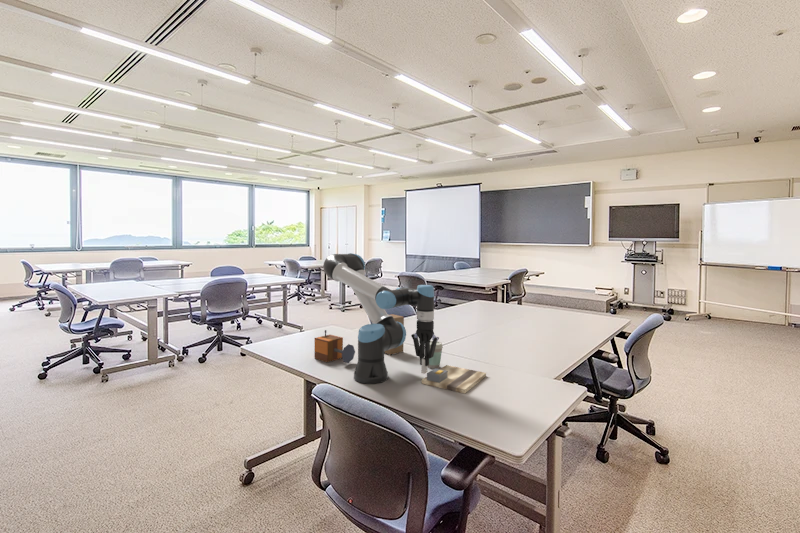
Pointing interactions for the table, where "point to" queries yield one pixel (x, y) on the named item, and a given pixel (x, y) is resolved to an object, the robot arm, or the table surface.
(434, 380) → the block
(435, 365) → the coffee cup
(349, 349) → the wooden box with disc
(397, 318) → the wooden block
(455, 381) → the plywood panel
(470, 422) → the table surface
